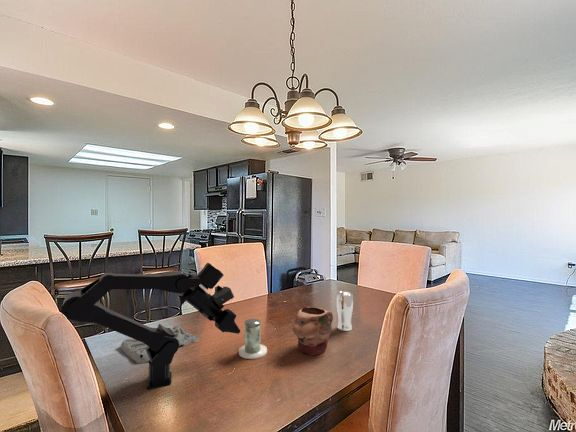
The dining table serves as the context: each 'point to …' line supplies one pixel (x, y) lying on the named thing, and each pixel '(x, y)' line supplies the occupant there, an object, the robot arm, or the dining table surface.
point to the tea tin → (252, 336)
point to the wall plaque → (139, 348)
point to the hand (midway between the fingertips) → (233, 327)
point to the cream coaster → (256, 355)
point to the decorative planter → (313, 329)
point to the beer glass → (344, 310)
